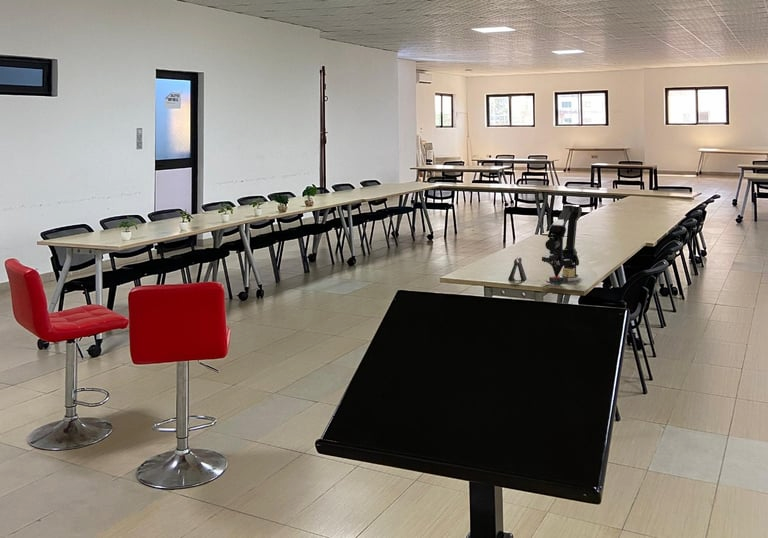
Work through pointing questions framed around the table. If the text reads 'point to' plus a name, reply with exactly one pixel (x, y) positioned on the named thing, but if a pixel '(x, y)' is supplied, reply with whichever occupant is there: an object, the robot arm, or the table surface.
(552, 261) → the robot arm
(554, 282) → the ball holder tray
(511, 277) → the phone stand
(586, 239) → the table surface
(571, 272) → the billet
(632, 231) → the table surface
